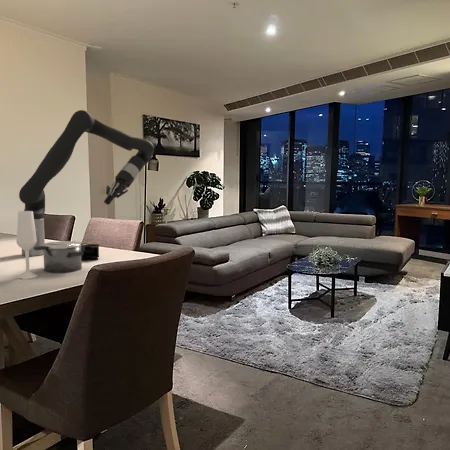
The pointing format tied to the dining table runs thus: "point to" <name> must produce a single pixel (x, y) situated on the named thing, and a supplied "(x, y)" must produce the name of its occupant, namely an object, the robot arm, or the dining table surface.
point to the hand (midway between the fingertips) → (106, 203)
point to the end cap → (90, 252)
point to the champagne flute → (26, 238)
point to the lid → (59, 245)
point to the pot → (63, 260)
